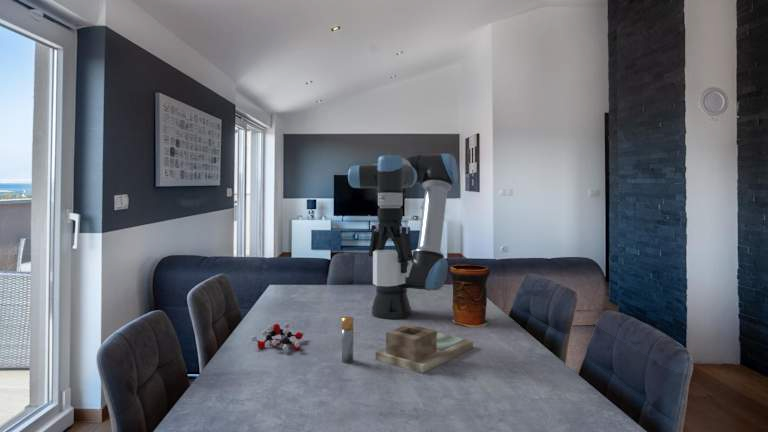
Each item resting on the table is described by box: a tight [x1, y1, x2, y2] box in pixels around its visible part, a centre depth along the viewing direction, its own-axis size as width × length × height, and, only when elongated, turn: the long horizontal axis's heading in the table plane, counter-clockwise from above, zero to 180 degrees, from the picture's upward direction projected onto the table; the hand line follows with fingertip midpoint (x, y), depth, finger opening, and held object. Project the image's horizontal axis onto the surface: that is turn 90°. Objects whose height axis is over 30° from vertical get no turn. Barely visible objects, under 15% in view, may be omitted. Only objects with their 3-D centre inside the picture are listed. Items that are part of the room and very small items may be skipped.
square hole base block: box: [375, 324, 474, 374], centre depth 134 cm, size 16×26×8 cm, turn 140°
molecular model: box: [250, 322, 305, 352], centre depth 140 cm, size 10×12×15 cm
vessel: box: [449, 263, 491, 328], centre depth 166 cm, size 14×14×20 cm
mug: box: [372, 249, 413, 287], centre depth 139 cm, size 12×9×10 cm
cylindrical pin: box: [341, 316, 354, 364], centre depth 127 cm, size 3×3×12 cm
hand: (390, 281), depth 140 cm, fingers closed on mug, 8 cm apart
